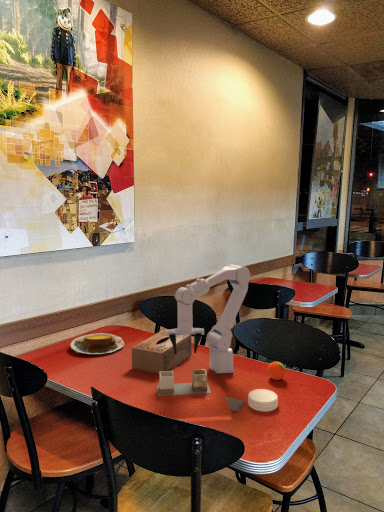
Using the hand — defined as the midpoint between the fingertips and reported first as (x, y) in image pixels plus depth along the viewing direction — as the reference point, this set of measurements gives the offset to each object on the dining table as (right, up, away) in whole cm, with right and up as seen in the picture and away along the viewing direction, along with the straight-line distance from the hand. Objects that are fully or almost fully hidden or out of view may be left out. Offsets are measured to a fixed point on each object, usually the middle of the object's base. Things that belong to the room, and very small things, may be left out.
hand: (185, 352), depth 157 cm
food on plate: (-43, -7, +37) cm, 56 cm away
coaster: (+27, -13, -20) cm, 36 cm away
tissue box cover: (-10, -9, +17) cm, 22 cm away
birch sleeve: (+5, -11, -9) cm, 15 cm away
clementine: (+36, -11, -1) cm, 37 cm away
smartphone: (+12, -13, -18) cm, 26 cm away
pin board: (-1, -12, -10) cm, 15 cm away
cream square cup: (-7, -11, -10) cm, 16 cm away
